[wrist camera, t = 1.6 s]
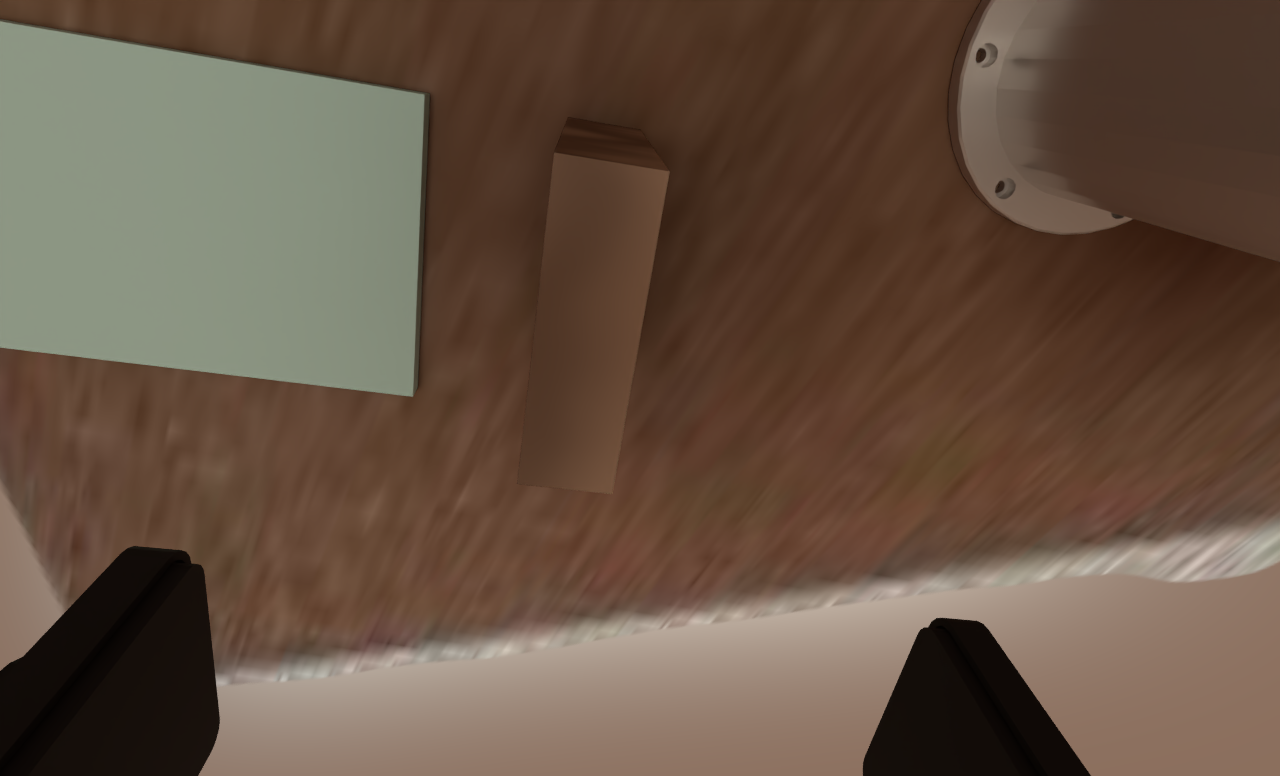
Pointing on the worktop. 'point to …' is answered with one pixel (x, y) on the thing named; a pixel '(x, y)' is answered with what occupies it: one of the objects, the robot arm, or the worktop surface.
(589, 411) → the board
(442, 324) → the worktop surface
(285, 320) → the plate
